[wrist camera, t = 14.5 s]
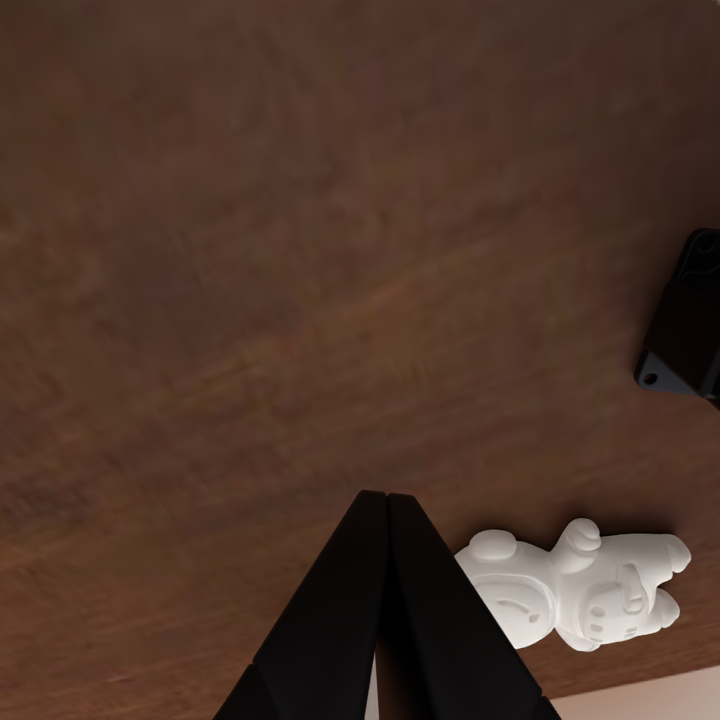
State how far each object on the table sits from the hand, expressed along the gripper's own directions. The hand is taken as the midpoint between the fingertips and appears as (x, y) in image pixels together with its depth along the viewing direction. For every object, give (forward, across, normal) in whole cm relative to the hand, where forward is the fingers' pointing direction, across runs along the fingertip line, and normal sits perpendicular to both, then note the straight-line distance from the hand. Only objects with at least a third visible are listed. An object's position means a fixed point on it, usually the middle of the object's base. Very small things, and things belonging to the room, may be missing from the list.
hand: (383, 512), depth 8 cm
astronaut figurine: (+13, -11, +15) cm, 23 cm away
